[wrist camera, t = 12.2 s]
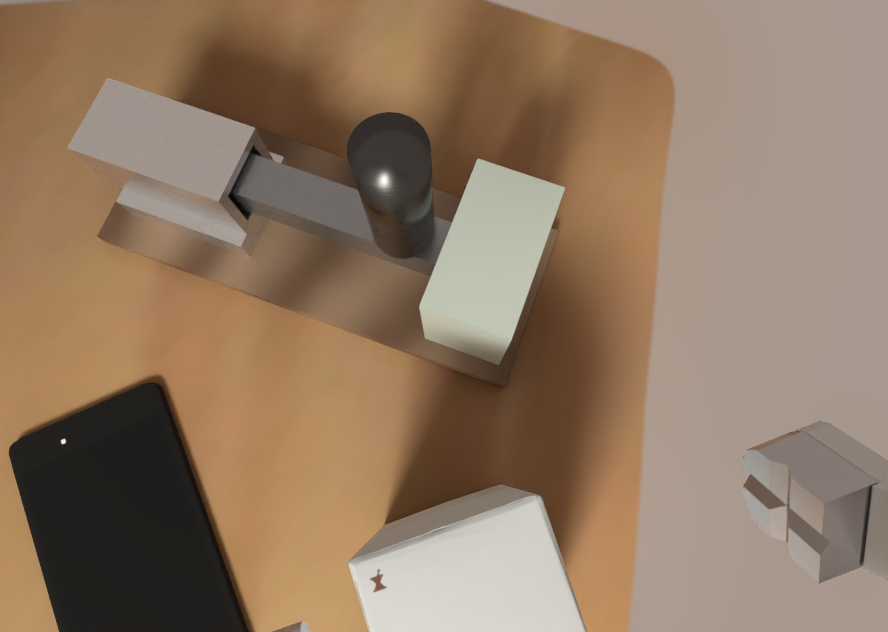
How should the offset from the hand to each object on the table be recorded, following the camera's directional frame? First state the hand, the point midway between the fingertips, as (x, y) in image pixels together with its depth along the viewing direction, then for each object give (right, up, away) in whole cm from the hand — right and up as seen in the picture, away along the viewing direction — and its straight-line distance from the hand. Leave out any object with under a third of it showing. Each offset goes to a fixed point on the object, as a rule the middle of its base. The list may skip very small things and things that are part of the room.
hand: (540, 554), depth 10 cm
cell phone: (-19, -9, +23) cm, 31 cm away
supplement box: (0, -10, +22) cm, 25 cm away
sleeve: (-16, +12, +27) cm, 33 cm away
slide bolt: (-6, +9, +23) cm, 25 cm away
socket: (+1, +6, +25) cm, 26 cm away
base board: (-9, +9, +27) cm, 30 cm away
